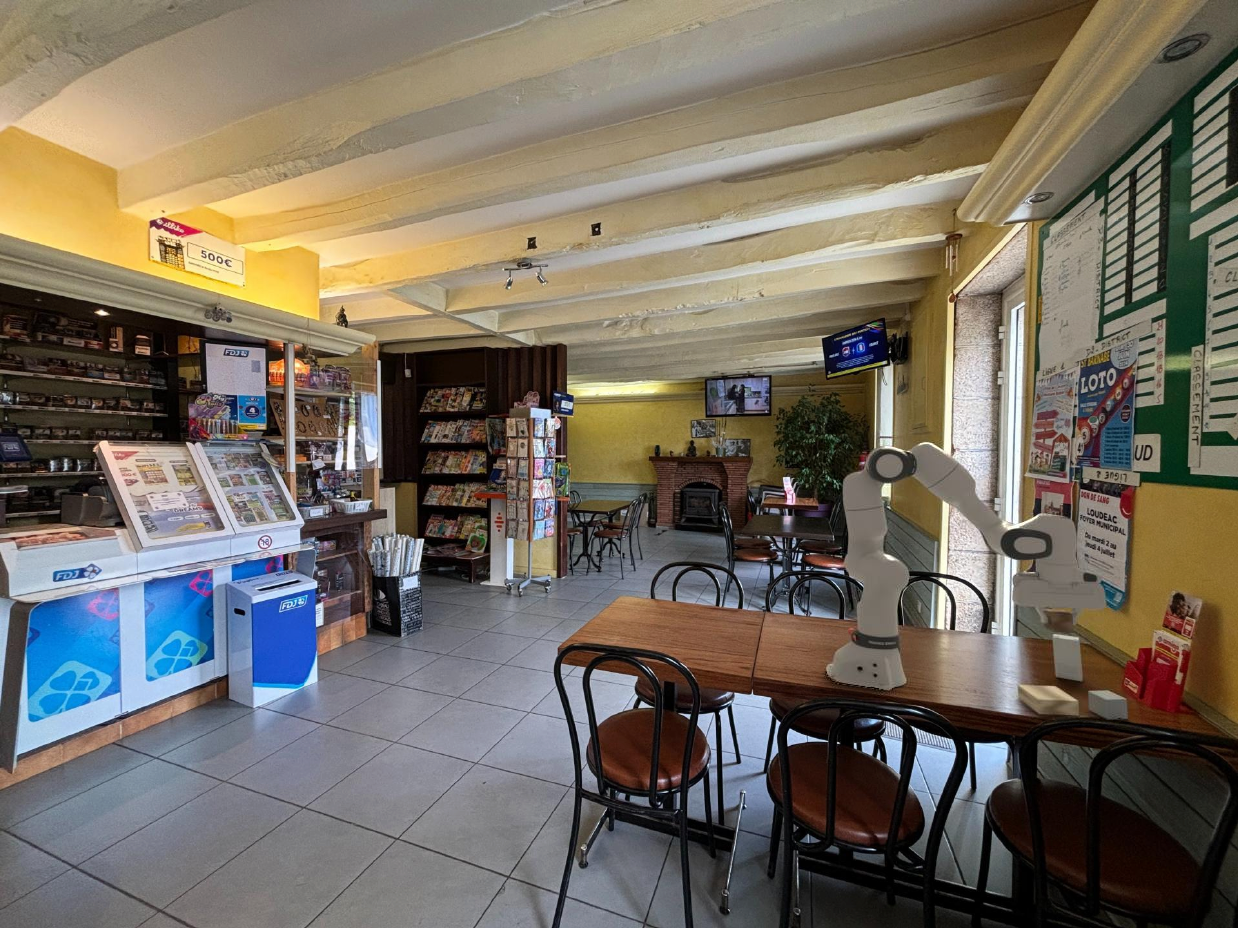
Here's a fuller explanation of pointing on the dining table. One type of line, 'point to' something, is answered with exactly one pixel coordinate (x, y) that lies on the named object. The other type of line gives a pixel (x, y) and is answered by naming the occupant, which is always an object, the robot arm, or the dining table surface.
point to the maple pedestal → (1048, 700)
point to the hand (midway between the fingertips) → (1058, 623)
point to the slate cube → (1108, 704)
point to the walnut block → (1059, 621)
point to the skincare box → (1067, 657)
